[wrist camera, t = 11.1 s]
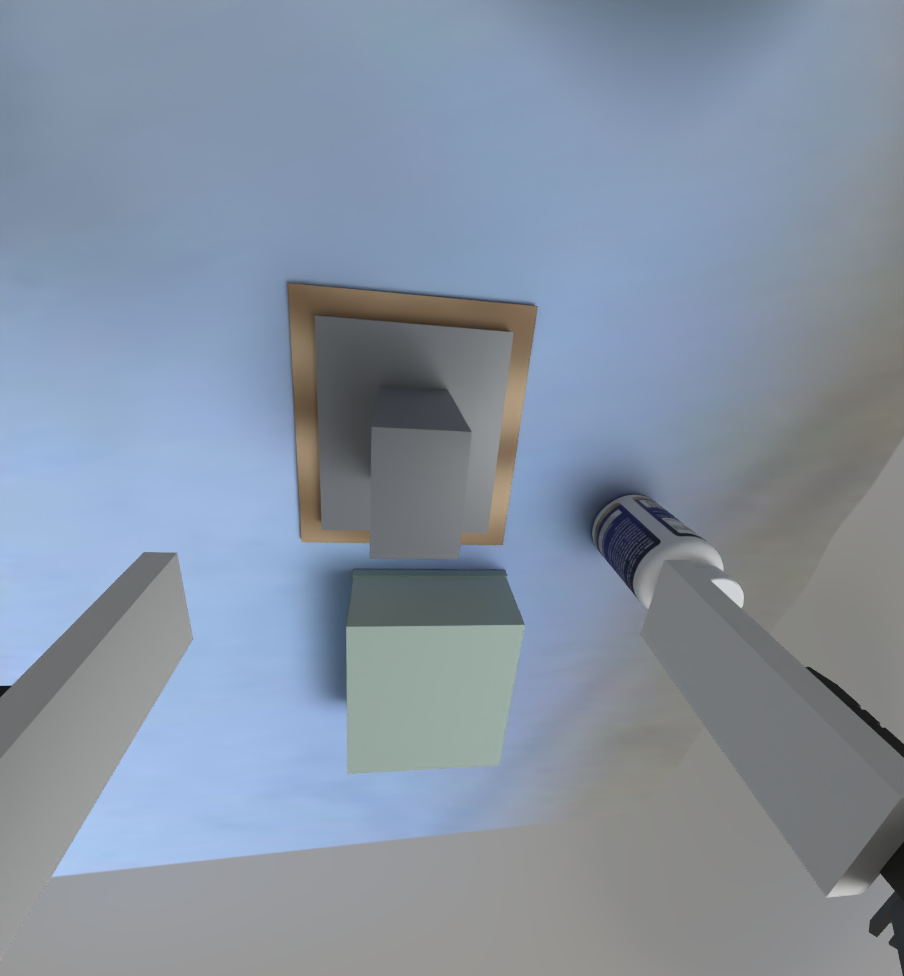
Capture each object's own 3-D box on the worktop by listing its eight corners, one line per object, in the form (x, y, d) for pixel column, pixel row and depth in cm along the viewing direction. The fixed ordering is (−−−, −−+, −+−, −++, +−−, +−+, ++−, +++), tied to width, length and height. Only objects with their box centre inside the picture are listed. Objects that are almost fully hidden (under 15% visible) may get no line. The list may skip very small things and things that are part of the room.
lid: (317, 314, 25) (271, 324, 16) (509, 331, 26) (570, 348, 17) (324, 522, 30) (292, 622, 21) (484, 526, 31) (521, 620, 22)
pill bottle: (598, 566, 34) (669, 660, 25) (583, 508, 32) (655, 589, 23) (664, 541, 34) (760, 628, 25) (654, 482, 32) (754, 553, 23)
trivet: (289, 283, 24) (287, 282, 24) (535, 306, 26) (537, 306, 26) (302, 539, 30) (301, 542, 30) (501, 542, 32) (502, 545, 32)
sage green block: (353, 569, 32) (344, 625, 26) (505, 570, 33) (526, 623, 28) (353, 704, 37) (346, 774, 31) (485, 699, 38) (500, 766, 33)
